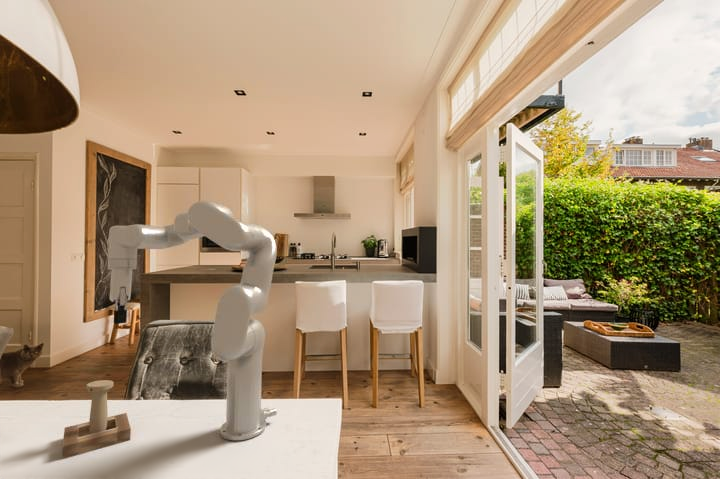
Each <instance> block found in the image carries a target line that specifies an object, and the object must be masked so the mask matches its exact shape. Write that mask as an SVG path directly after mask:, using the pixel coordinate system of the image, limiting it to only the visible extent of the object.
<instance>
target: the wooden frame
mask: <svg viewBox="0 0 720 479" xmlns="http://www.w3.org/2000/svg"><path fill="white" fill-rule="evenodd" d="M63 432H64V433H63V441H62V448H61V449H62V450H61V452H62V453H61V459H62V460H65V459H68V458H72V457H75V456H78V455H82V454H85V453H89V452H93V451H96V450H99V449H103V448H107V447H110V446H113V445H117V444H120V443H124V442H128V441H130V440H131V434H132V433H131V432H132V431H131V425H130V421H129V418H128V414H127V412H123V413H121V414H120V413H119V414H117V415H112V416H108V417H107V427H106V431H102V432H98V433H94V434H90V429H89V421H87V422H83V423H78V424H74V425H69V426H66V427H64V430H63Z"/></svg>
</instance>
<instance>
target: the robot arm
mask: <svg viewBox="0 0 720 479" xmlns="http://www.w3.org/2000/svg"><path fill="white" fill-rule="evenodd" d="M203 237H205V238H207V239H209V240H210V241H212V242H214V243H215V244H216V245H218V246H220V247H222V248H223V249H225V250H228V251H230V252H231V251H232V252H247V253H248V256H247V257H248V258H247V259H246V262H245V263H244V266H243V269H242V275H241V279H240V283H239V284H237V285H233V286H231V287H229V288H227V289H226V290H225V291H224V292H223V294H222V295H221V297H220V298H219V300H218V304H217V308H216V314H215V317H214V318H215V319H214V321H213V322H214V324H213V328H212V334H211V338H210V339H211V341H210V346H211V347H210V348H211V351H212V354H213V355H214V357H215V358H216V359H218V360H219V361H222V362H228V363H227V373H226V375H227V377H226V378H227V380H226V411H225V412H226V415H225V416H226V419H225V422H224V423H223V424H222V425H221V426H220V427H219V429H220V430H219V434H220V436H221V438H223V439H225V440H229V441H244V440H248V439H252V438H254V437H257V436H258V435H261V434H262V433H263V432H264V431H265V429H266V427H267V421H266V420H267V418H271V417H274V416H277V412H278V411H277V409H276V408H275V407H274V408H271V409H270V407H265V408H262V375H263V374H262V373H263V372H262V371H263V370H262V369H263V354H264V347H265V341H266V331H265V327H264V326H263V324H262V323H261V322H260V321H259V320H257V319H255V318H253V317H255V316H258V315H259V314H261V313H262V312H264V311H265V310H266V307H267V306H268V302H269V296H270V292H271V285H272V281H273V273H274V269H275V265H276V260H277V254H278V253H277V252H278V249H277V243H276V240H275V238H274V236H273V235H272V233H270V232H269V230H267V229H266V228H265V227H262V226H261V225H259V224H255V223H250V222H245V221H241V220H237V219H235V217H234V214H233V212H232V210H231V209H230V208H229V207H227V206H225V205H224V204H220V203H216V202H212V201H210V200H209V201H208V200H200V201H199V200H198V201H196V202H194V203H193V204H192V205H191V206H190V207H189V208H188V210H187V211H184V212H181V213H178V214H177V215H176V216H175V218H174V221H173V223H172V224H169V225H165V226H156V225H148V224H130V225H113V226H111V227H110V228H109V232H108V249H107V250H108V252H107V253H108V255H107V258H108V259H107V270H111V272H110V283H109V285H110V286H109V301H111V303H113V302H114V310H113V324H114V325H117V324H118V325H120V324H126V323H127V318H128V310H127V307H128V304H127V303H128V302H129V301H130V300H131V295H132V282H133V270H137V268H138V267H137V265H138V263H137V262H138V249H139V250H164V249H169V248H173V247H177V246H181V245H185V244H186V243H188V242H189V241H190V240H195V239H198V238H203Z"/></svg>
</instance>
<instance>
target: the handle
mask: <svg viewBox="0 0 720 479" xmlns="http://www.w3.org/2000/svg"><path fill="white" fill-rule="evenodd" d="M85 386H86V388H85V389H86V391H88V392H89V393H91V401H90V402H91V403H90V404H91V405H90V414H89V420H88V422H89V429H90V434H94V433H98V432H102V431H106V427H107V417H109V416H108V415H109V414H108V391H109V390H111V389H112V388H113V387H114V381H113V380H109V379H108V380H107V379H102V380H95V381H91V382H88V383H87V384H86V385H85Z"/></svg>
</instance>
